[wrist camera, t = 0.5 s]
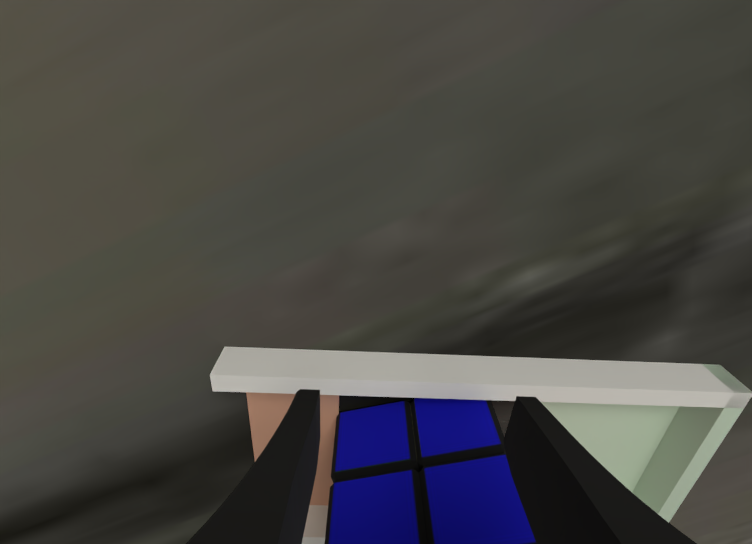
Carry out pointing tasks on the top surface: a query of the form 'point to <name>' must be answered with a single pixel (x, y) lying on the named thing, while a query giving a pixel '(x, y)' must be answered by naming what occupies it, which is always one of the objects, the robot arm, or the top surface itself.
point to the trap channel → (504, 382)
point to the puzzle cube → (423, 476)
